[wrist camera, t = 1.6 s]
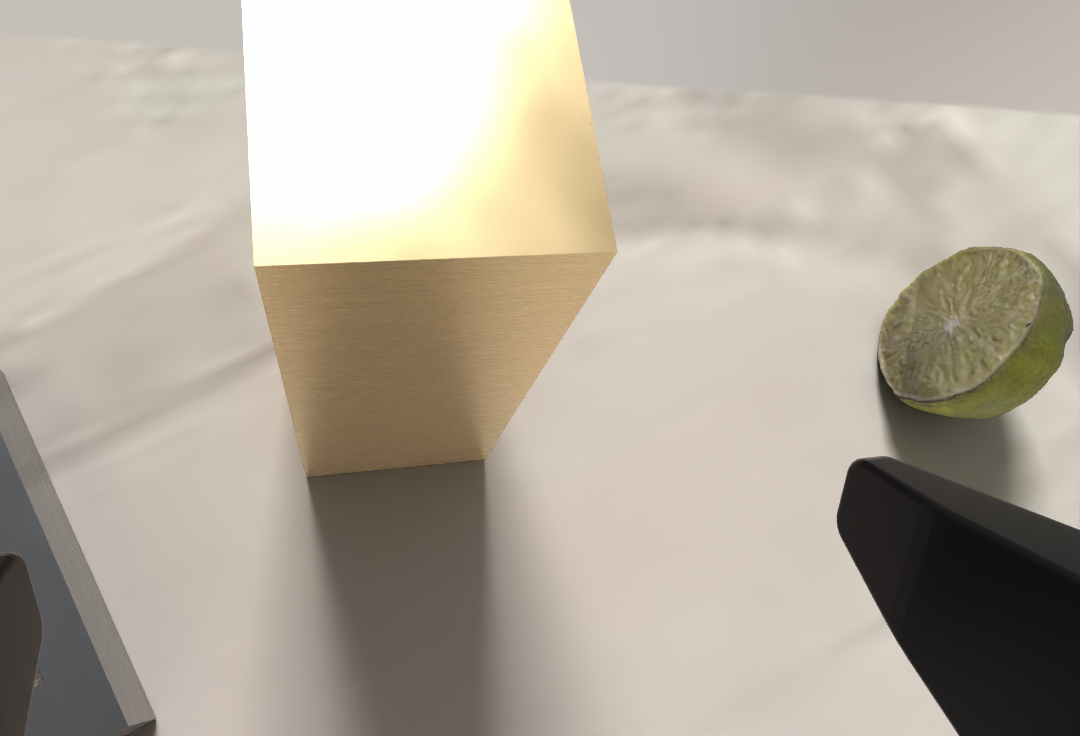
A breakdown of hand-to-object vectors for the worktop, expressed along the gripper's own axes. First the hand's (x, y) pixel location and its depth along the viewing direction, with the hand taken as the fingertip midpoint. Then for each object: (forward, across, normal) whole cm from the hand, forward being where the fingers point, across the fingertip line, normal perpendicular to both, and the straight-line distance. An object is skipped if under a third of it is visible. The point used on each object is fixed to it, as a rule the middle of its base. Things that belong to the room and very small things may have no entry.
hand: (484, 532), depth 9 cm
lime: (+12, -16, +5) cm, 21 cm away
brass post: (+13, 0, +5) cm, 13 cm away
